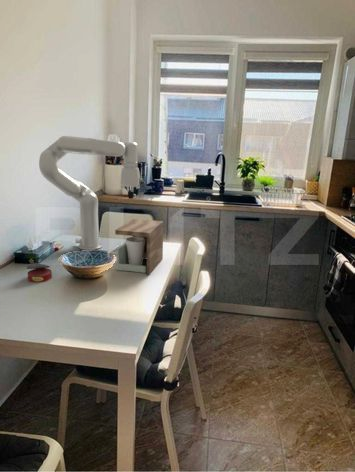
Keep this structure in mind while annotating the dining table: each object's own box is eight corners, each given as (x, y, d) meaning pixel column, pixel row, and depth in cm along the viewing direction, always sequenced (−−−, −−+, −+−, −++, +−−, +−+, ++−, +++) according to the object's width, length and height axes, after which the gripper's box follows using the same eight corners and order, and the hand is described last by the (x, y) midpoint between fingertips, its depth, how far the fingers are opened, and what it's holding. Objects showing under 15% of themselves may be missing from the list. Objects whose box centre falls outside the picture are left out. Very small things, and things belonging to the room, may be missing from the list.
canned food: (28, 290, 155) (17, 269, 154) (46, 280, 164) (35, 261, 163) (43, 284, 149) (31, 262, 148) (60, 274, 157) (50, 254, 156)
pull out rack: (104, 268, 169) (104, 248, 167) (120, 255, 188) (119, 237, 185) (145, 272, 165) (145, 252, 163) (156, 259, 184) (157, 240, 182)
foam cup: (135, 269, 170) (135, 243, 167) (122, 264, 175) (121, 239, 172) (149, 264, 177) (149, 239, 174) (135, 260, 183) (135, 235, 179)
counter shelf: (116, 271, 166) (115, 230, 161) (133, 256, 189) (132, 219, 184) (149, 275, 163) (149, 232, 158) (162, 258, 186) (163, 221, 180)
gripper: (115, 165, 195) (116, 198, 200) (141, 166, 192) (141, 200, 197) (120, 164, 202) (120, 196, 207) (145, 165, 199) (145, 198, 204)
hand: (130, 198), depth 202 cm, fingers closed
